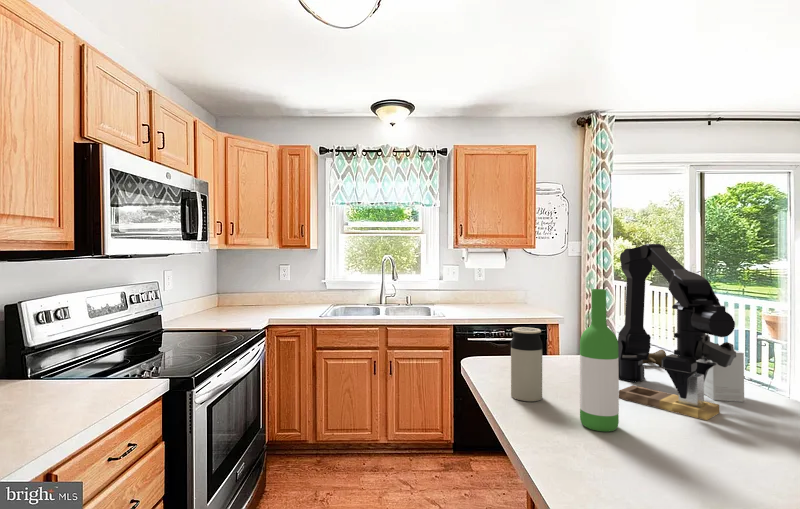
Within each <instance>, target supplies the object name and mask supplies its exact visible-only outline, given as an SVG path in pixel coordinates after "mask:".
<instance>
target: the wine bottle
mask: <svg viewBox="0 0 800 509" xmlns="http://www.w3.org/2000/svg"><path fill="white" fill-rule="evenodd" d="M590 292H591V294H590V295H591V296H590V298H591V301H590V302H591V303H590V304H591V305H590V306H591V307H590V308H591V309H590V310H591V312H590V313H591V316H590V319H591V320H590V323H591V324H590V325H589V326H588V327H587V328H586V329H585V330H583V332H582V334H581V336H580V339H579V420H580V423H581V424H582V426H583V427H585V428H587V429H590V430H593V431H596V432H597V431H598V432H606V433H608V432H613V431H615V430H617V428H618V427H619V422H620V420H619V417H620V415H619V413H620V412H619V410H620V409H619V408H620V407H619V406H620V404H619V402H620V401H619V400H620V398H619V390H620V389H619V380H620V379H619V366H618V337H617V335H616V334H615V333H614V331H613V330H612V329H611V328H609V327H608V325H607V290H606V289H603V288H592V289H591V291H590Z"/></svg>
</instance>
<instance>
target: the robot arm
mask: <svg viewBox="0 0 800 509" xmlns="http://www.w3.org/2000/svg"><path fill="white" fill-rule="evenodd" d="M619 256H620V257H619V261H620V268H621V270H622V273H624V276H625V277H626V285H625V286H626V287H625V288H626V291H625V312H624V313H625V314H624V326H623V327H622V328H621V329H620V330H619V332H618V336H617V340H618V366H619V380H622V381H626V382H631V383H638V382H643V381H644V380H646V377H645V364H643V360H648V356H649V353H650V351H651V338H652V337H651V335H650V334H648V333H647V331H646V330H645V328H644V327H645V326H644V320H645V319H644V318H645V298H646V296H645V295H646V294H645V293H646V279H647V278H648V277H649V275H650V274H651V272H652V270H653V267H654V268H655V269H656V270H657V271H658V272H659V273H660V274H661V276H663V277H664V278H665V280H666V281H667V283H668V290H669V292H670V294H671V296H672V297H673V298H674V300H675V301H676V303H674V304H673V305H672V307H671V308H672V309H675V310H677V311H676V321H677V322H676V329H677V330H676V332H674V333H673V338H676V339H677V340H676V345H677V347H676V349H674V350H673V354H671V353H670V354H669V355H667V354H666V356H665V357H664V358H663V359H662V367H661V368H662V369H663V370H664V371H665V372H667V375H668V376H669V378H670V380H671V381H672V383H673V385H674V388H675V389H676V391H677V393H678V395H680V397H681V398H684V399H686V398H687V393H688V387H689V381H690V377H691V376H693V375H694V374H695V373H699V374H704V381H705V378H706V375H707V372H708V370H709V369H710V368H712V367H713V366H715V365H716V364H718V365H720V366H722V367H727V366H730V365H731V363H732V361H733V359H734V358H735V357H736V351H737V350H736V351H734V350H735V347H734V344H732V343H730V342H727V341H725V342H723V343H721V344H720V343H715V342H712V341H711V336H714V337H717V338H718V337H719V338H726V337H728V336H730V335H731V334H732V333H733V332H734V330H735V327H736V322H735V320H734V317H733V316H732V315H731V314H730V313H729V312H727V311H726V305H721V304H720V299H719V298H718V297H717V296H716V293H715V291H714V289H713V287H712V285H711V284H710V282H709V281H708V279H706V278H705V277H704V276H702V275H700V274H699V273H695V272H692V271H690V270H688V269H686V268H685V267H684V266H683V265H682V264H681V263H680V262H679V261H678V260H677V259H676V258H675V257H674V256H672V255H671V253H669V252H668V251H667V250H666V247H665V245H663V244H661V243H645V244H642V245H640V246H637V247H632V248H625V249H624V250H623V251H622V252H621V253H620V255H619ZM710 360H711V361H712V362H710ZM713 362H714V363H713Z"/></svg>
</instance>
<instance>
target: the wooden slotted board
mask: <svg viewBox="0 0 800 509" xmlns="http://www.w3.org/2000/svg"><path fill="white" fill-rule="evenodd" d="M620 399H621V400H626V401H630V402H633V403H636V404H641V405H645V406H649V407H653V408H656V409H660V410H665V411H668V412H673V413H677V414H680V415H685V416H687V417H692V418H696V419H700V420H705V421H708V420H711V419H712V418H714V417H716V415H719V414H720V404H719V403H714V402H710V401H705V400H704V406H703V407H702V408H697V407H692V406H688V405H684V404H680V403H679V394H674V393H669V392H665V391H661V390H656V389H652V388H646V387H643V386H639V385H630V386H627V387H624V388H622V389H619V400H620Z"/></svg>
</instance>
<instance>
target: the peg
mask: <svg viewBox="0 0 800 509" xmlns="http://www.w3.org/2000/svg"><path fill="white" fill-rule="evenodd" d="M678 395H679V394H678ZM704 401H705V394H704V374H699V373H695V374H694V375H693V376H691V377H690V381H689V387H688V393H687V398H686V399H684V398H681V397H680V395H679V403H680V404H684V405H688V406H692V407H697V408H702V407H703V406H704Z"/></svg>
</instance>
